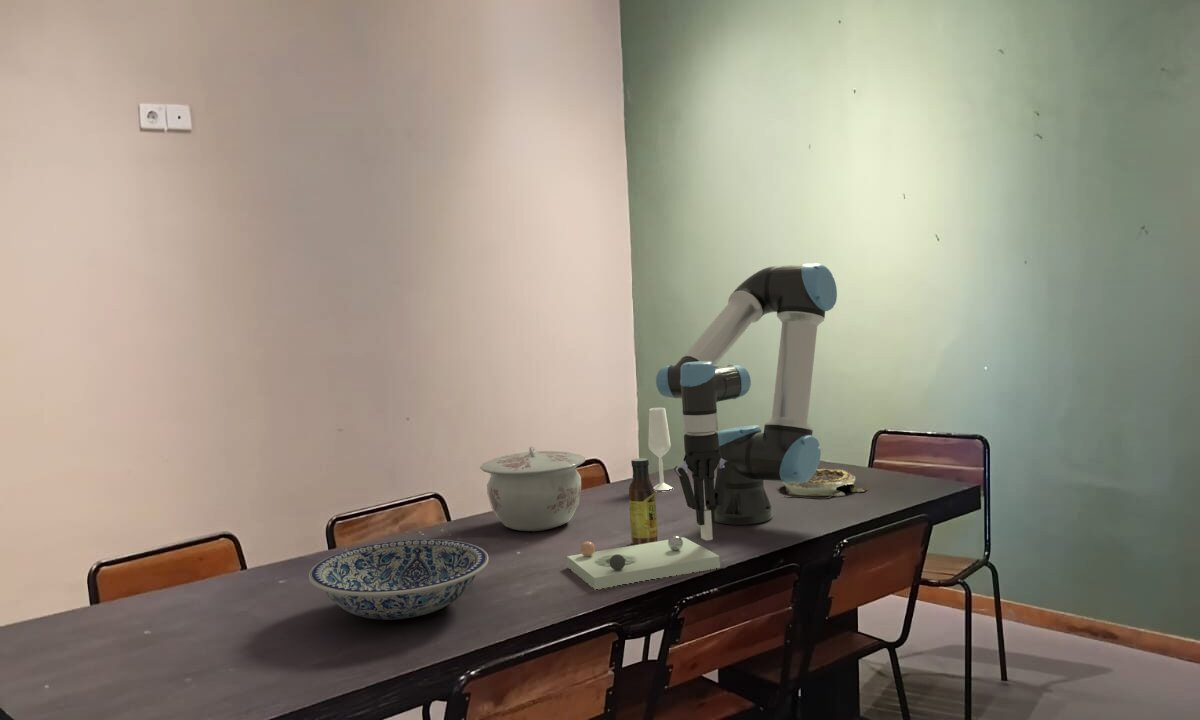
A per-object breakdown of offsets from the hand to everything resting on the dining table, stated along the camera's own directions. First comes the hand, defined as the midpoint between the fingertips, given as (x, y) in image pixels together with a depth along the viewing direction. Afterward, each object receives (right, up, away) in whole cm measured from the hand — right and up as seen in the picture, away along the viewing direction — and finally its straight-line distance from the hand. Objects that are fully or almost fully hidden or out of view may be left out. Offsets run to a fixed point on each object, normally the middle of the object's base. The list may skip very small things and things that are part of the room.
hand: (706, 538), depth 209 cm
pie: (+38, +2, +61) cm, 72 cm away
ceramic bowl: (-62, -10, -23) cm, 67 cm away
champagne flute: (-5, +1, +73) cm, 73 cm away
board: (-14, -5, -5) cm, 16 cm away
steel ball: (-7, -1, -2) cm, 8 cm away
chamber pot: (-40, -4, +39) cm, 56 cm away
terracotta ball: (-26, -2, -2) cm, 26 cm away
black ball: (-20, -2, -14) cm, 24 cm away
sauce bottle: (-13, -4, +15) cm, 20 cm away
